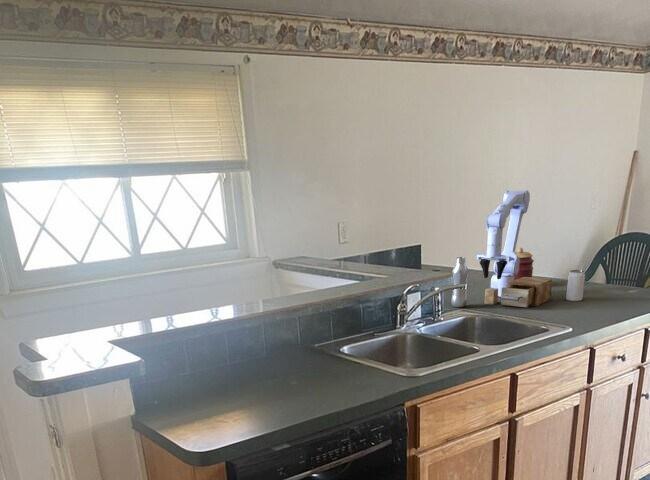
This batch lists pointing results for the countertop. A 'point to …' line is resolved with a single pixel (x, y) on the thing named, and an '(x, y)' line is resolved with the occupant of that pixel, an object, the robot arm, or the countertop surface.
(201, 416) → the countertop surface
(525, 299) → the drawer
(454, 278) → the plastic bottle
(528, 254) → the kitchen canister
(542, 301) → the cabinet
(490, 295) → the block
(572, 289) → the can
